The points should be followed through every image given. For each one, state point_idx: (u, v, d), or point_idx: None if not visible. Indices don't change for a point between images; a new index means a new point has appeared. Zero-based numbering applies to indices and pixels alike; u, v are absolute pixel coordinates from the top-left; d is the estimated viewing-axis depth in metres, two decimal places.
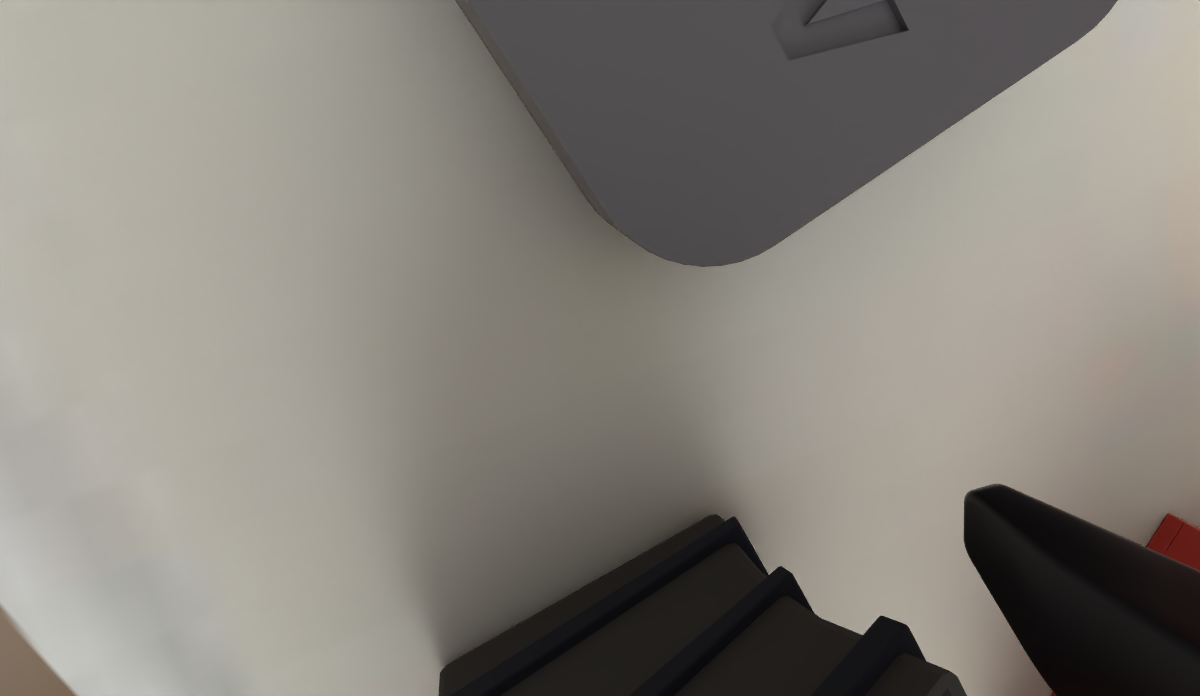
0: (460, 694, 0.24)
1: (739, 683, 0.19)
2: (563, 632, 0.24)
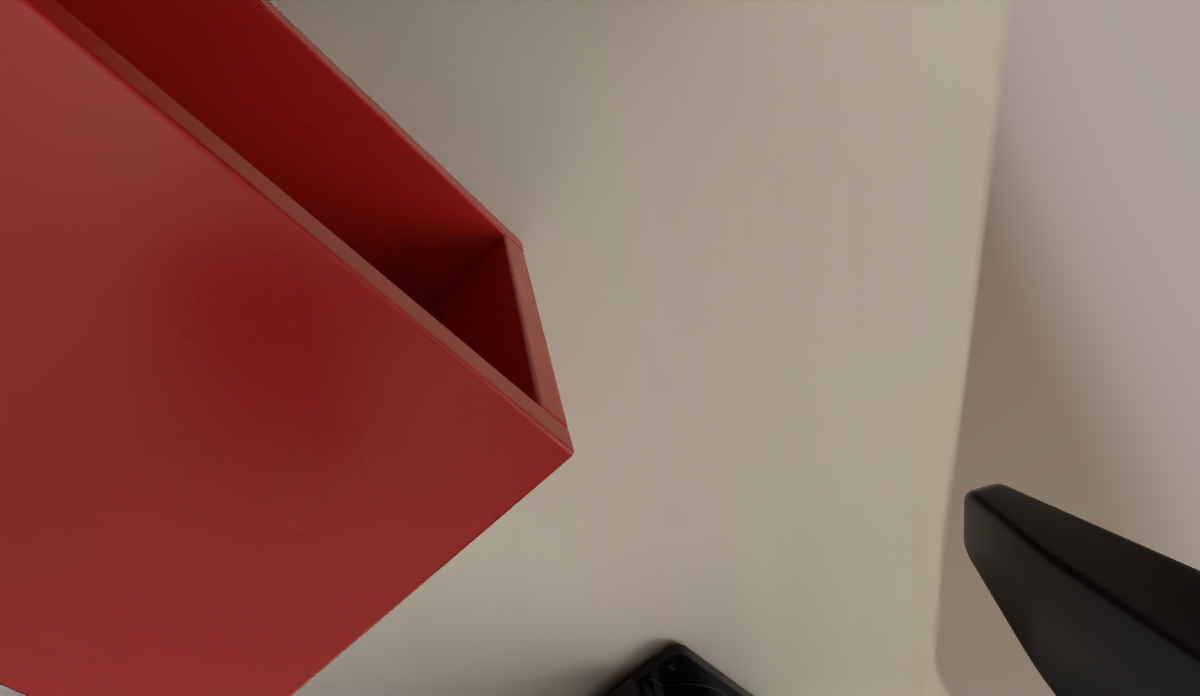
0: None
1: None
2: None
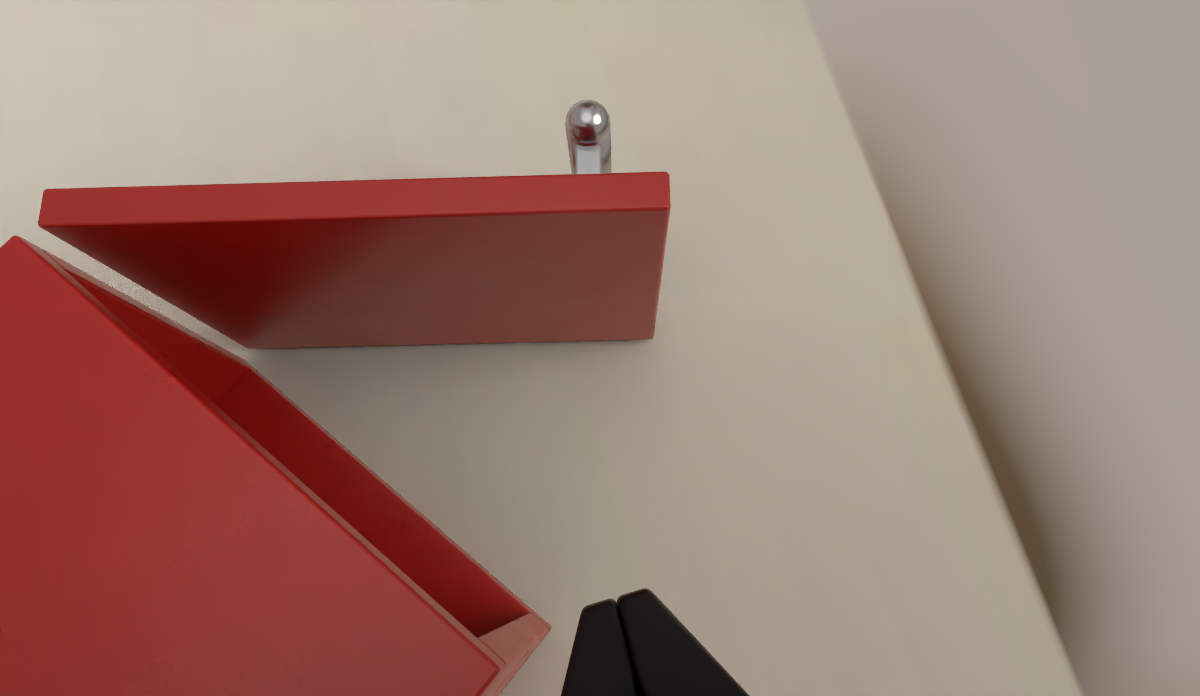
0: None
1: None
2: None
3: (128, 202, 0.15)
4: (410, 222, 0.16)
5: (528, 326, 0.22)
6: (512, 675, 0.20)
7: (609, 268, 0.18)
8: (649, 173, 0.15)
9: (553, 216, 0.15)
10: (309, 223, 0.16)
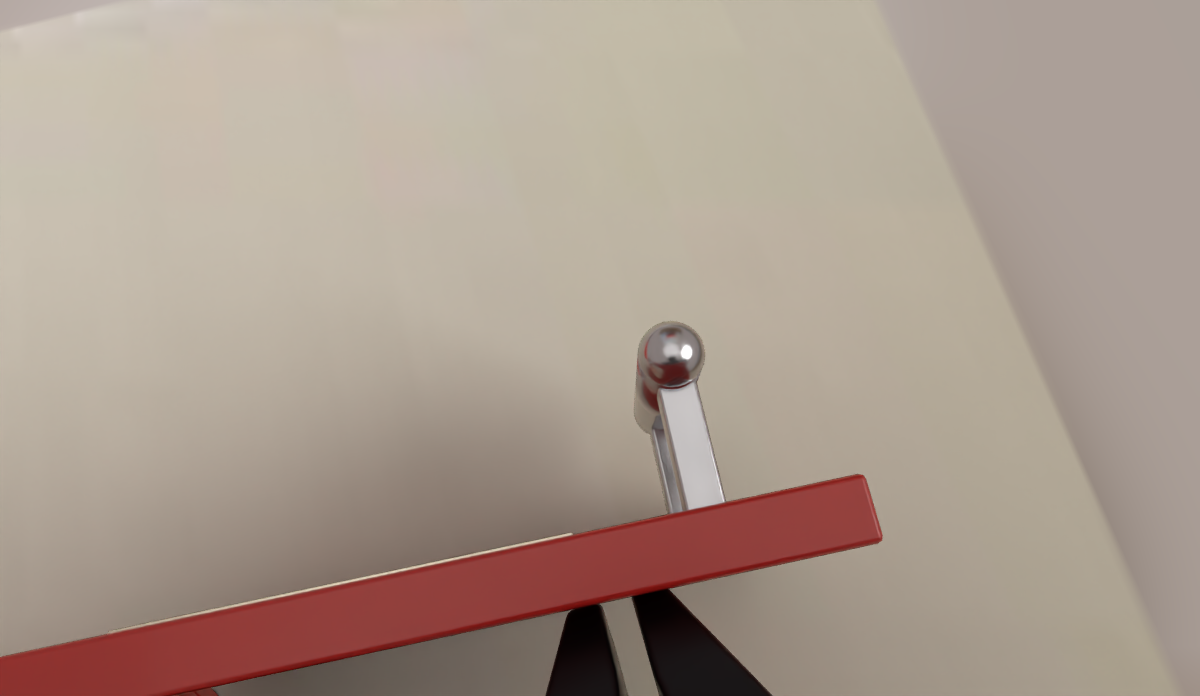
0: None
1: None
2: None
3: None
4: None
5: None
6: None
7: None
8: (835, 482, 0.09)
9: None
10: None
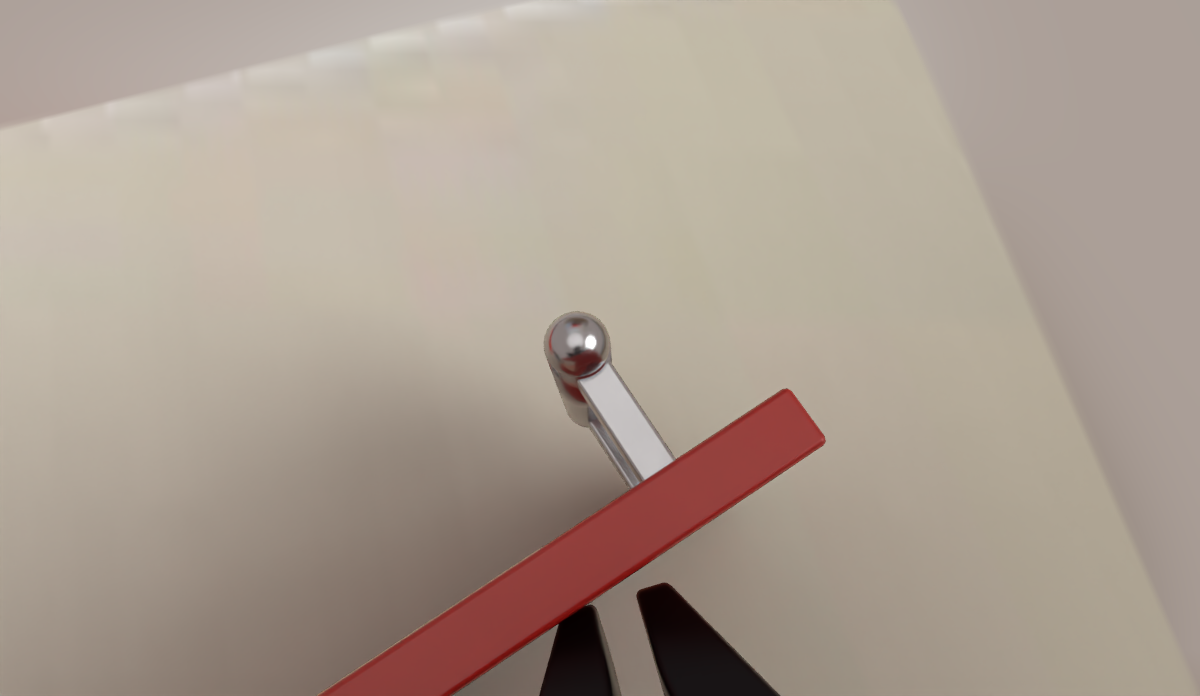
0: None
1: None
2: None
3: None
4: None
5: None
6: None
7: None
8: (765, 405, 0.10)
9: None
10: None
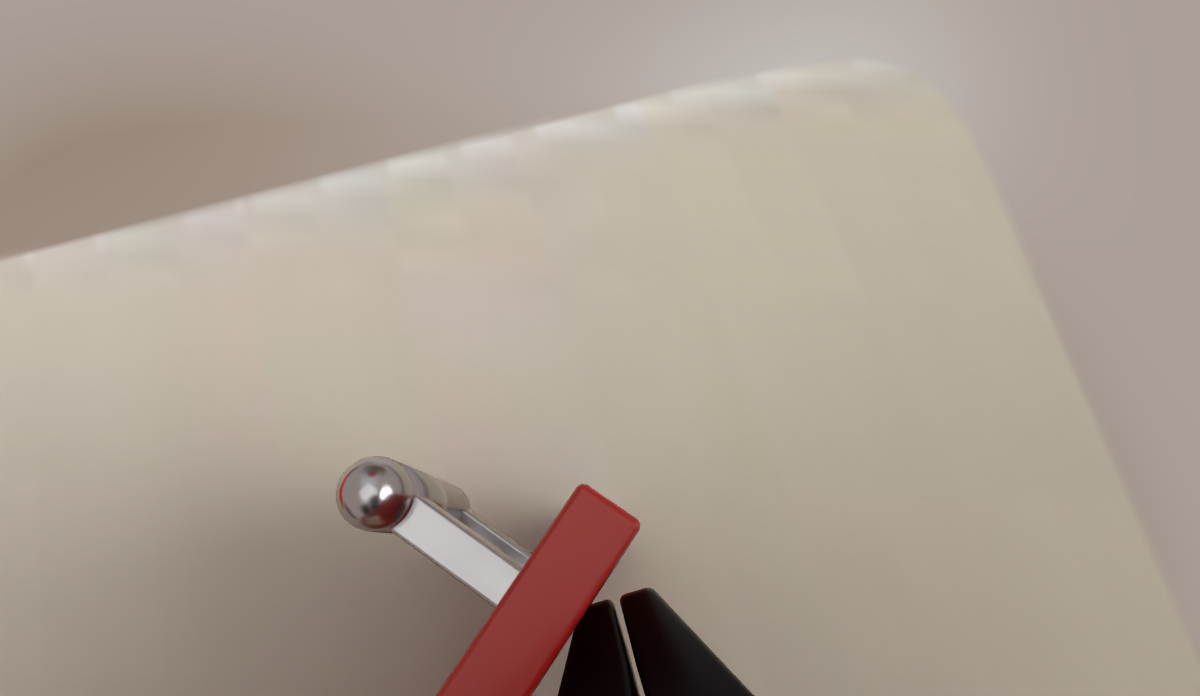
0: None
1: None
2: None
3: None
4: None
5: None
6: None
7: None
8: (565, 512, 0.09)
9: None
10: None
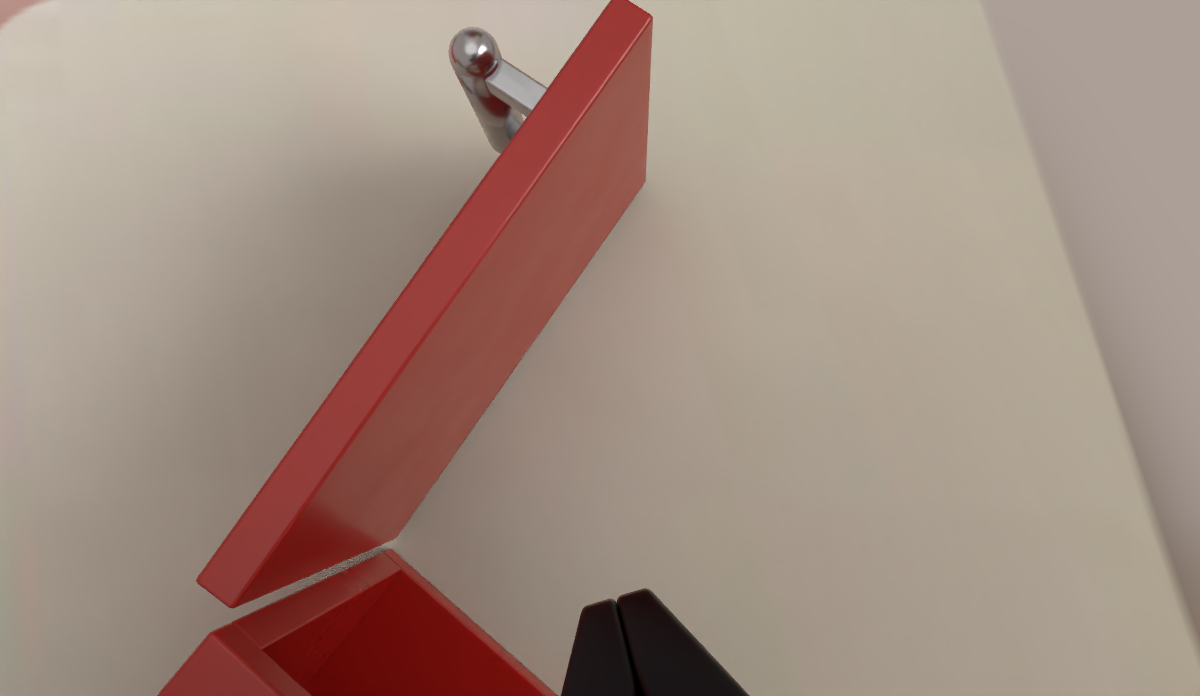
0: None
1: None
2: None
3: (274, 505, 0.13)
4: (488, 256, 0.14)
5: (570, 270, 0.21)
6: None
7: (618, 135, 0.17)
8: (606, 9, 0.14)
9: (580, 124, 0.14)
10: (421, 348, 0.14)
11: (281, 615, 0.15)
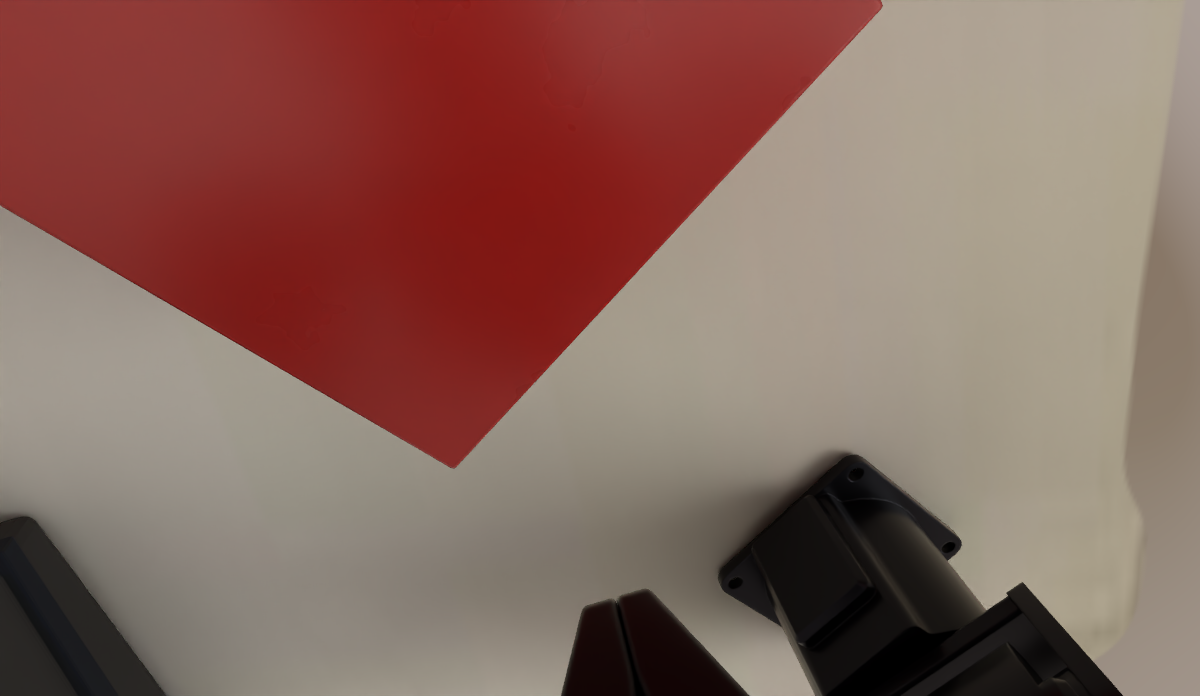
0: None
1: None
2: None
3: None
4: None
5: None
6: None
7: None
8: None
9: None
10: None
11: None
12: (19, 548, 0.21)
